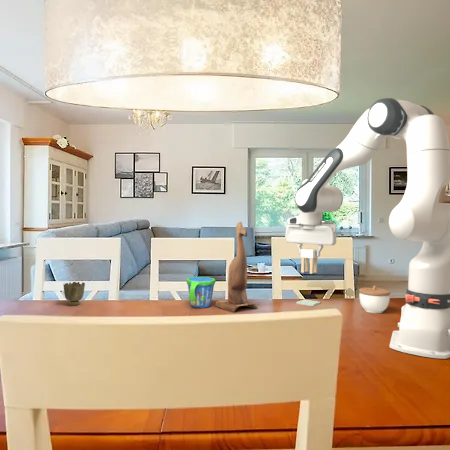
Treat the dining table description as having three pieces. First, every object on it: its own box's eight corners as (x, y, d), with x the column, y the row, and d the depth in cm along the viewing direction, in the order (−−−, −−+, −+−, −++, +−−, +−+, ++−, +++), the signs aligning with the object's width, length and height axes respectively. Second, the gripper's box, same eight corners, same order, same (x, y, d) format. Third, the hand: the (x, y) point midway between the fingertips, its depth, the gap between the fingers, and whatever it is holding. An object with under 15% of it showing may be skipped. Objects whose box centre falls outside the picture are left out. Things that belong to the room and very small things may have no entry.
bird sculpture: (235, 314, 148) (240, 222, 146) (214, 307, 156) (218, 220, 155) (258, 310, 155) (263, 222, 153) (236, 303, 164) (240, 220, 162)
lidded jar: (392, 315, 149) (392, 289, 148) (360, 313, 151) (360, 287, 151) (386, 309, 159) (387, 284, 159) (357, 307, 161) (357, 282, 161)
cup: (58, 305, 154) (58, 283, 153) (73, 301, 160) (73, 280, 160) (75, 308, 151) (75, 285, 150) (89, 303, 158) (89, 282, 157)
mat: (312, 306, 161) (313, 304, 161) (296, 303, 165) (296, 302, 165) (320, 303, 167) (320, 301, 167) (304, 300, 171) (304, 299, 171)
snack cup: (202, 312, 149) (202, 283, 148) (176, 308, 153) (177, 280, 153) (222, 303, 162) (223, 277, 162) (198, 300, 167) (199, 274, 167)
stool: (317, 272, 166) (318, 249, 166) (312, 273, 162) (313, 250, 162) (305, 271, 169) (306, 248, 169) (300, 272, 165) (301, 249, 165)
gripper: (339, 220, 161) (338, 257, 162) (291, 219, 173) (290, 253, 174) (333, 221, 156) (332, 258, 157) (283, 219, 168) (282, 254, 169)
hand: (309, 255), depth 165 cm, fingers closed on stool, 5 cm apart
